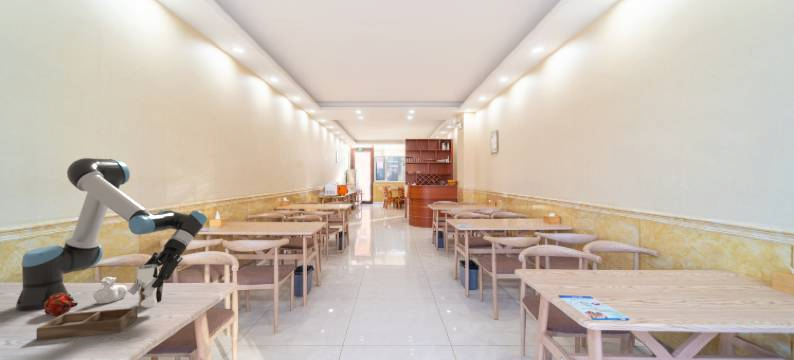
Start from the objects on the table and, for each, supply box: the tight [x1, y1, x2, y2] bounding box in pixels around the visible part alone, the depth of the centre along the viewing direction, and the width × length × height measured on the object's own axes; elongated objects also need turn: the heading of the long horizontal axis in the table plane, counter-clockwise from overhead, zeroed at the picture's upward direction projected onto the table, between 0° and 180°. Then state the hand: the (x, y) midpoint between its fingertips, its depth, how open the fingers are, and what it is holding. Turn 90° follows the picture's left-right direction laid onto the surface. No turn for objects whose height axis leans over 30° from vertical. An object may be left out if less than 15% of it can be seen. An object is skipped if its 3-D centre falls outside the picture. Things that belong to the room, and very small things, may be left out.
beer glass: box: [135, 264, 160, 309], centre depth 128 cm, size 7×7×15 cm
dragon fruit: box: [43, 293, 78, 317], centre depth 129 cm, size 8×8×12 cm
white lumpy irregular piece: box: [92, 276, 128, 305], centre depth 143 cm, size 12×8×11 cm
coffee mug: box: [156, 280, 165, 304], centre depth 143 cm, size 12×9×10 cm
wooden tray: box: [36, 307, 138, 342], centre depth 116 cm, size 12×23×4 cm, turn 105°
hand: (138, 294), depth 124 cm, fingers closed on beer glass, 7 cm apart
